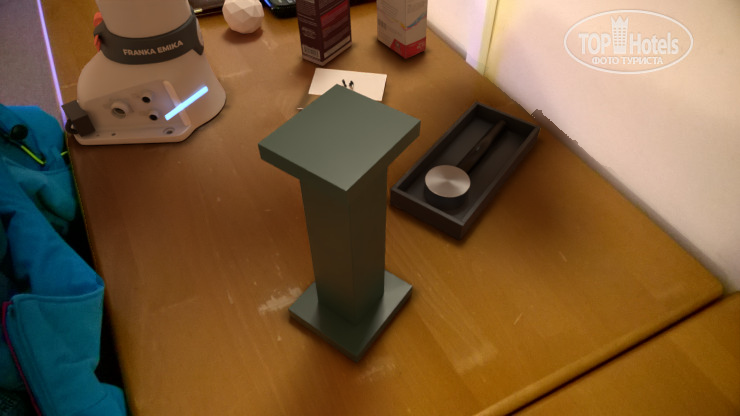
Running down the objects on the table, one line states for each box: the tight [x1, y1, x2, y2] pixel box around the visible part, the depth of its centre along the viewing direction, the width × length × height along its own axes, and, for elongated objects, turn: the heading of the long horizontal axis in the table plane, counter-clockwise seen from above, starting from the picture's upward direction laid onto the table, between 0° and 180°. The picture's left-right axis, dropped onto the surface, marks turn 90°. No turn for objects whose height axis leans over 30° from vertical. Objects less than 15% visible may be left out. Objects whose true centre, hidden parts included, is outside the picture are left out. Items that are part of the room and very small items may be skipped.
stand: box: [257, 84, 422, 364], centre depth 45 cm, size 10×9×24 cm
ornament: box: [221, 0, 265, 35], centre depth 90 cm, size 7×7×8 cm
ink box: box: [376, 0, 429, 59], centre depth 85 cm, size 9×5×12 cm, turn 33°
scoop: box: [424, 120, 508, 210], centre depth 67 cm, size 19×6×2 cm, turn 143°
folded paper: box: [296, 67, 388, 110], centre depth 78 cm, size 12×12×2 cm
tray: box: [389, 100, 542, 241], centre depth 67 cm, size 22×10×3 cm, turn 144°
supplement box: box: [294, 0, 353, 67], centre depth 82 cm, size 9×5×16 cm, turn 144°
